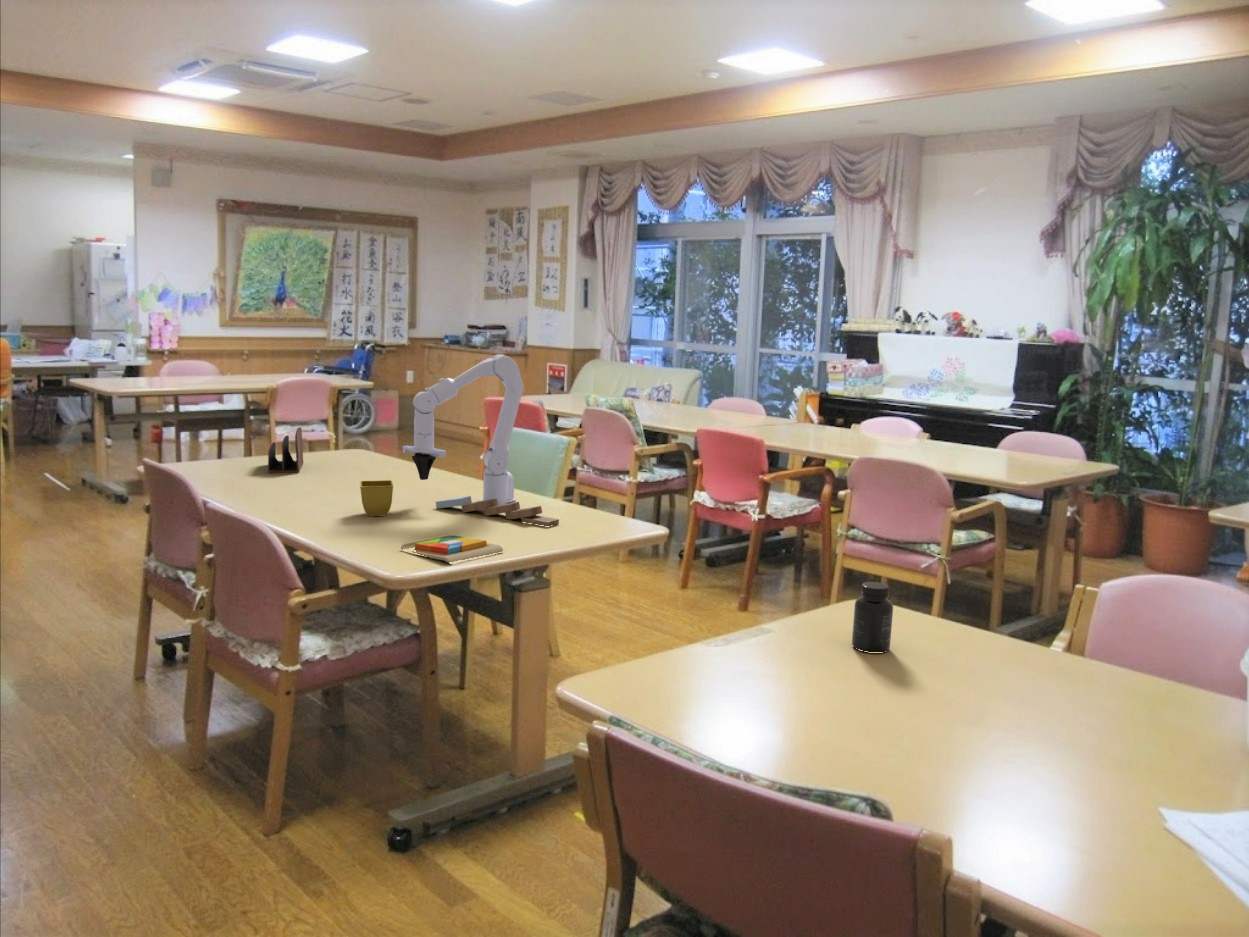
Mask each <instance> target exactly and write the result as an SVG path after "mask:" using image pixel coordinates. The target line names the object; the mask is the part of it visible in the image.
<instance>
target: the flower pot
mask: <svg viewBox="0 0 1249 937" xmlns="http://www.w3.org/2000/svg"><path fill="white" fill-rule="evenodd" d="M359 489H360V496H361V503H362V507H363V510H364V512H365V513H366V516H367V517H380V516H381V517H386V516H388V513H389V512H390V510H391V506H392V502H393V493H394V492H393V490H394V485H393V480H390V479H389V480H388V479H386V480H382V479H381V480H380V479H379V480H360V481H359Z"/></svg>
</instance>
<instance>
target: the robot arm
mask: <svg viewBox="0 0 1249 937" xmlns="http://www.w3.org/2000/svg"><path fill="white" fill-rule="evenodd" d="M494 376H496V377H498V378H499V379H500V381H501V382H502V384H503V386H504V387H505V391H504V396H503V399H502V403H501V407H500V409H499V414H498V417H497V422H496V426H495V430H494V434H493V437H492V440H491V441H490V444H489V446H488V449H487V450H486V451H485V452H484V453H483V456H482V457H483V458H482V461H483V462H482V463H483V464H484V467H485V469H484V470H483V473H482V474H483V480H482V482H483V486H482V488H483V489H482V490H483V491H482V499H479V500H476V502H479V501H484V500H489V499H495V498H497V502H498V505H502V504H508V503H513V502H517V498H515V495H514V494H515V479H514V476H513V474H512V473H511V472H509V471H508V468H509V464H510V462H509V453H510V446H509V444H510V440H511V437H512V434H513V429H514V426H515V421H516V418H517V415H518V414H517V413H518V411H519V407H520V403H521V400H522V399H521V398H522V395H523V392H524V387H525V386H524V382H523V379H522V376H521V373H520V368H519V365H518V364H517V362H515V360H514V359H513V358H512V357H510V356H507V355H505V354H503V353H502V354H501V353H498V354H495V355H493V356H492V357H488V358H486V359H484V360H482V361H480V362H479V363H477V364H475V365H473V366H472V367H471V368H469V369H467V370H466V371H464V372H462V373H460V374H459V375H458V376H456V377H455V378H450V377H446V378H443V377H442V378H440V379H438V381H439V382H437V383H434V385H432V386H430V387H425V388H424V390H425V391H419V392H417V393H416V394H415V395H414V397H413V400H412V405H413V406H414V418H413V445H402V453H404V454H414V455H412V456H411V459H412V460H413V463H414V464H415V468H416V470H417V473H418V476H419V479H420V480H421V481H425V480H428V479H429V477H430V472H431V468H432V466H433V464H434V462H435V460H436V459H437V458H440V459H441V458H447V450H444V449H440V448H436V447H435V416H434V410H435V408H436V406H440V405H442V404H444V403H445V402H448V400H450V399H452V398H454V397H456V396H458V393H459V390H460V388H463V387H464V386H466V385H468V384H471V383H472V382H474V381H475V380H478V379H480V378H482V377H494Z"/></svg>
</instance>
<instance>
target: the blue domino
mask: <svg viewBox="0 0 1249 937" xmlns="http://www.w3.org/2000/svg"><path fill="white" fill-rule="evenodd" d="M469 503H473V502H472V496H471V495H468V496H461V497H451V498H444V499H441V500H438V501H435V508H436V509H437V508H438V509H444V508H453V507H460V506H462V505H466V504H469Z"/></svg>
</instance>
